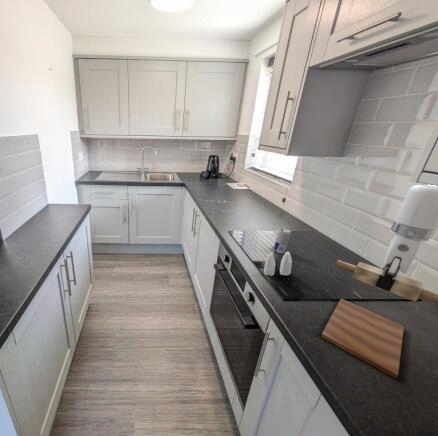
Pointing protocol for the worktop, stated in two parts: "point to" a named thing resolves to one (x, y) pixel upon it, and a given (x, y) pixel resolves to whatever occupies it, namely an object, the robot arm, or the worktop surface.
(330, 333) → the pastry board
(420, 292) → the rolling pin
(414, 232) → the robot arm
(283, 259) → the shaker set
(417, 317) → the worktop surface
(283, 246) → the energy drink
